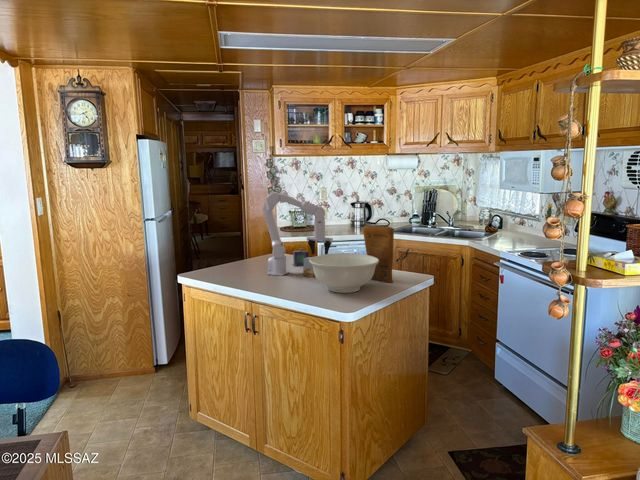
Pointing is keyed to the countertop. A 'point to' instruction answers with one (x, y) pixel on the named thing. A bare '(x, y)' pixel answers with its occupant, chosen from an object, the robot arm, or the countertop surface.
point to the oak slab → (308, 270)
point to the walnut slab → (308, 274)
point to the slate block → (307, 263)
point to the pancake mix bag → (380, 250)
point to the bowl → (344, 271)
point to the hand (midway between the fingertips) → (319, 254)
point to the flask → (299, 257)
